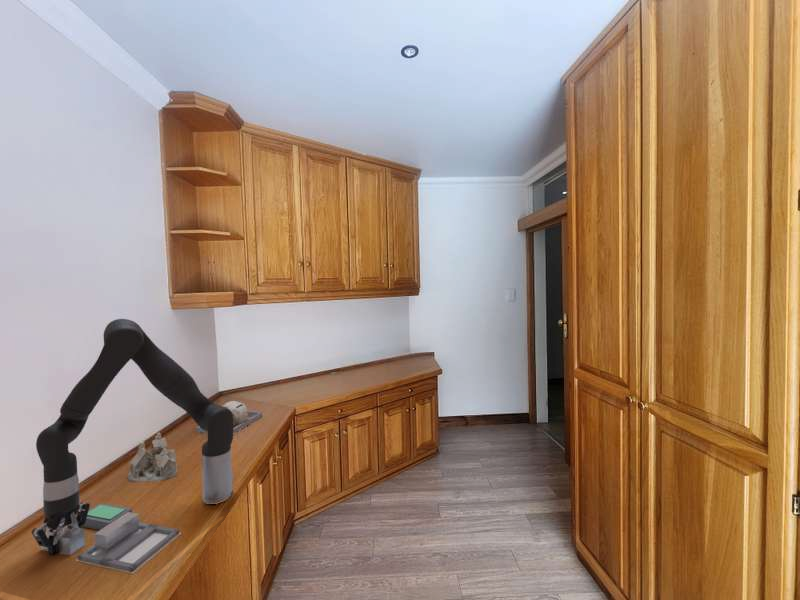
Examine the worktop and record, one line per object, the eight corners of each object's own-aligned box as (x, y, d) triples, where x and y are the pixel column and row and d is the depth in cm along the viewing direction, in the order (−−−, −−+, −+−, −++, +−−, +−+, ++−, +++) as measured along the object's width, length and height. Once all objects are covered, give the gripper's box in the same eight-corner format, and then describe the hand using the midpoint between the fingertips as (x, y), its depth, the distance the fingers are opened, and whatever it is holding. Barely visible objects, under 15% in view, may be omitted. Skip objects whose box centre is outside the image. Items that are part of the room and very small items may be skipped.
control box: (101, 514, 123) (101, 502, 123) (132, 520, 120) (131, 508, 120) (77, 529, 116) (77, 516, 116) (109, 535, 113) (109, 523, 113)
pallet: (130, 526, 117) (130, 519, 117) (181, 536, 113) (181, 529, 113) (76, 564, 102) (75, 556, 102) (132, 577, 98) (132, 569, 97)
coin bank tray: (231, 413, 216) (231, 409, 216) (262, 416, 212) (262, 412, 211) (196, 432, 190) (196, 427, 190) (230, 436, 185) (230, 431, 185)
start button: (100, 509, 122) (100, 504, 121) (125, 513, 119) (125, 509, 119) (84, 518, 117) (84, 514, 117) (110, 523, 114) (110, 519, 114)
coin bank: (215, 420, 205) (217, 397, 204) (249, 420, 210) (251, 397, 209) (209, 432, 190) (211, 407, 189) (245, 432, 195) (247, 407, 194)
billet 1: (57, 544, 109) (56, 524, 109) (85, 549, 108) (84, 529, 107) (41, 554, 105) (40, 533, 105) (70, 559, 104) (69, 538, 103)
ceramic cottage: (126, 472, 149) (127, 436, 148) (173, 461, 160) (174, 427, 159) (130, 491, 138) (131, 453, 137) (181, 478, 149) (182, 442, 148)
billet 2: (128, 530, 114) (127, 511, 113) (139, 533, 113) (138, 513, 112) (95, 554, 104) (94, 533, 104) (106, 556, 103) (105, 536, 103)
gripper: (42, 508, 98) (45, 571, 99) (97, 480, 112) (99, 535, 113) (21, 504, 99) (23, 566, 100) (77, 477, 113) (79, 531, 114)
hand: (63, 549), depth 106 cm, fingers closed on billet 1, 4 cm apart
